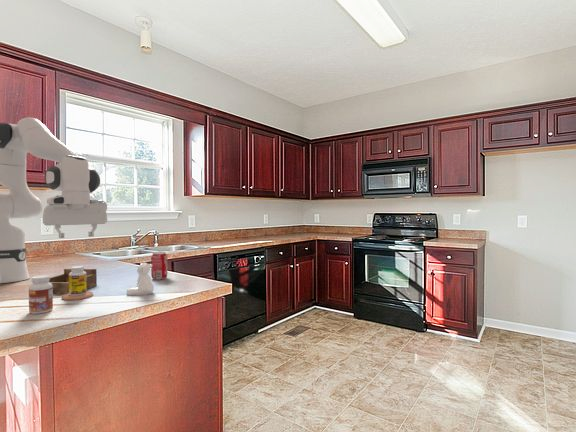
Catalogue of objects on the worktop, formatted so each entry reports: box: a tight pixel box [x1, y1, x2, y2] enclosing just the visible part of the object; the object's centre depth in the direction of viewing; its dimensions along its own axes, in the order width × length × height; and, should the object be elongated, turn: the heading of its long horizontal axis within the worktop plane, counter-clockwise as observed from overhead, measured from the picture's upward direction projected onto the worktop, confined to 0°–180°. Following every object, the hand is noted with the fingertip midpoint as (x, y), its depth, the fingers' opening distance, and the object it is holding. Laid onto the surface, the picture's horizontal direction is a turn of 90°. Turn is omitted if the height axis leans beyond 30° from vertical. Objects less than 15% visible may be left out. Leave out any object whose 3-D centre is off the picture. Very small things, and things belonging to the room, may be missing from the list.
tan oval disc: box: [61, 290, 94, 301], centre depth 128 cm, size 10×10×1 cm
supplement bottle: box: [69, 265, 87, 296], centre depth 128 cm, size 6×6×10 cm
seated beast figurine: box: [125, 262, 155, 296], centre depth 133 cm, size 10×9×12 cm
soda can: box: [150, 251, 168, 281], centre depth 161 cm, size 7×7×12 cm
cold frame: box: [49, 268, 98, 294], centre depth 141 cm, size 14×14×7 cm
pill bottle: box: [28, 275, 54, 315], centre depth 110 cm, size 6×6×11 cm
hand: (76, 237), depth 128 cm, fingers open, 8 cm apart
